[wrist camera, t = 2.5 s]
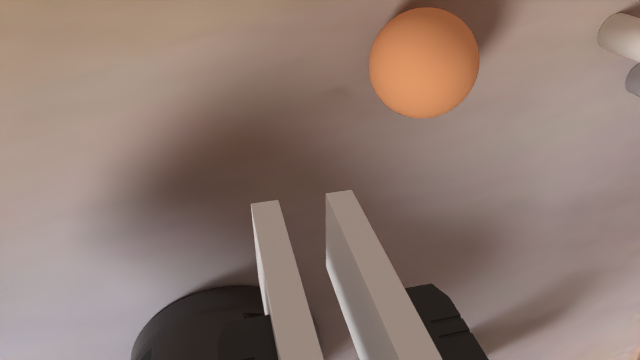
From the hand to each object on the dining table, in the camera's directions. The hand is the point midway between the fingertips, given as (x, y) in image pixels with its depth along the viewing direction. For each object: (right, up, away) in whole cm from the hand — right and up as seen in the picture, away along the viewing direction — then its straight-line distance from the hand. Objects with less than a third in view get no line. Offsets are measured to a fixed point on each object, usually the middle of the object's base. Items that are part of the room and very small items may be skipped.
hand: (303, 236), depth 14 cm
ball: (+6, +8, +13) cm, 16 cm away
